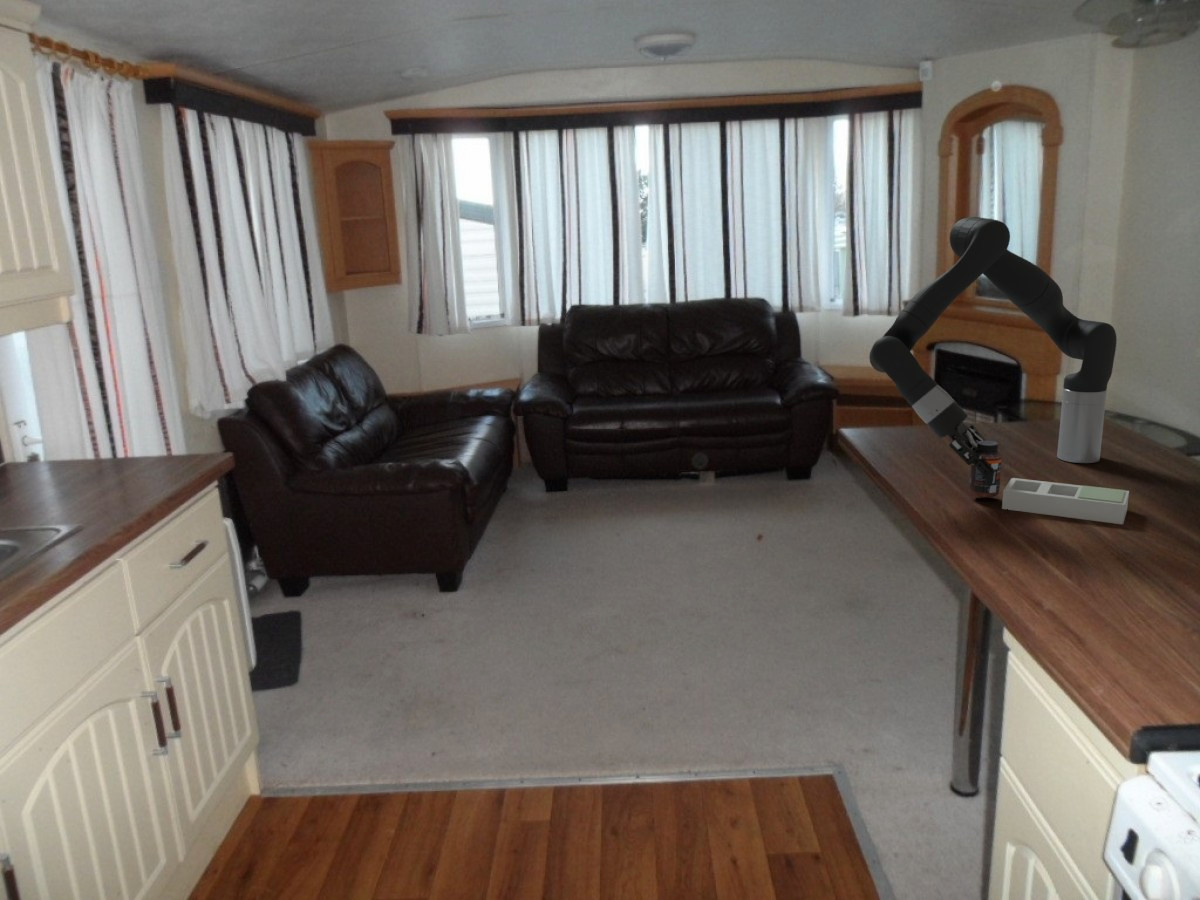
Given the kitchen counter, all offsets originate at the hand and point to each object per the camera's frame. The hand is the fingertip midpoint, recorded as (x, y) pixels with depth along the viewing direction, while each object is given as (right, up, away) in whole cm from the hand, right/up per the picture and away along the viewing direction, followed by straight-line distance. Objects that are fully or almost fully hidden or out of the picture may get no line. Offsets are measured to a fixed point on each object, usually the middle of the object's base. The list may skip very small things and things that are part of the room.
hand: (994, 470), depth 199 cm
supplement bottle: (-1, -5, +2) cm, 6 cm away
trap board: (+12, -8, -6) cm, 15 cm away
